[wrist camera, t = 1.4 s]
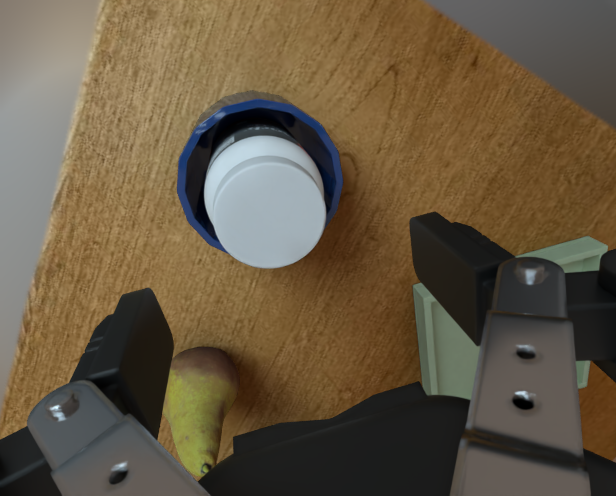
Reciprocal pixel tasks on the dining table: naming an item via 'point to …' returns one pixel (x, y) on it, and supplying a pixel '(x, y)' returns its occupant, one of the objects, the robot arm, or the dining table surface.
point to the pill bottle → (264, 194)
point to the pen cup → (232, 111)
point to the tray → (459, 347)
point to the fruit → (199, 404)
